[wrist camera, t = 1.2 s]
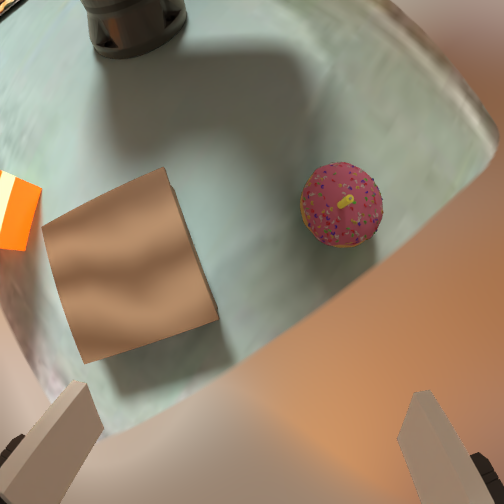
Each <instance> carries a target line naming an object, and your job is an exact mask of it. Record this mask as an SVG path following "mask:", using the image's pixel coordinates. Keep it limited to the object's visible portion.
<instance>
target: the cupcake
mask: <svg viewBox="0 0 504 504" xmlns="http://www.w3.org/2000/svg"><path fill="white" fill-rule="evenodd" d="M379 191H380V190H379V188H378V187H377V185H376V184H375V182H374V179H373V178H372V179H371V177H370V176H369V175H368V174H367V173H366V172H364V171H363V170H362V169H360V168H358V167H356V166H354V165H351V164H349V163H346V162H340V163H339V162H337V163H333V164H332V163H330V164H329V165H326V166H322V167H321V166H320V168H318V169H316V170H315V171H314V173H313V174H312V175H311V177H310V178H309V180H308V181H307V183H306V185H305V187H304V189H303V191H302V194H301V199H300V210H301V214H302V218H303V222H304V224H305V225H306V227H307V228H308V229H309V230H310V231H311V232H312V233H313V235H314V236H315V237H316V238H317V239H318V240H319V241H321V242H322V243H324V244H326V245H329V246H334V247H339V248H342V247H354V246H357V245H359V244H361V243H362V242H364V241H365V240H368V239H369V238H371V237H372V236H373V234H375V231H377V228H378V226H379V224H380V222H381V219H382V215H383V206H382V200H383V199H382V198H381V193H380V192H379Z"/></svg>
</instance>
